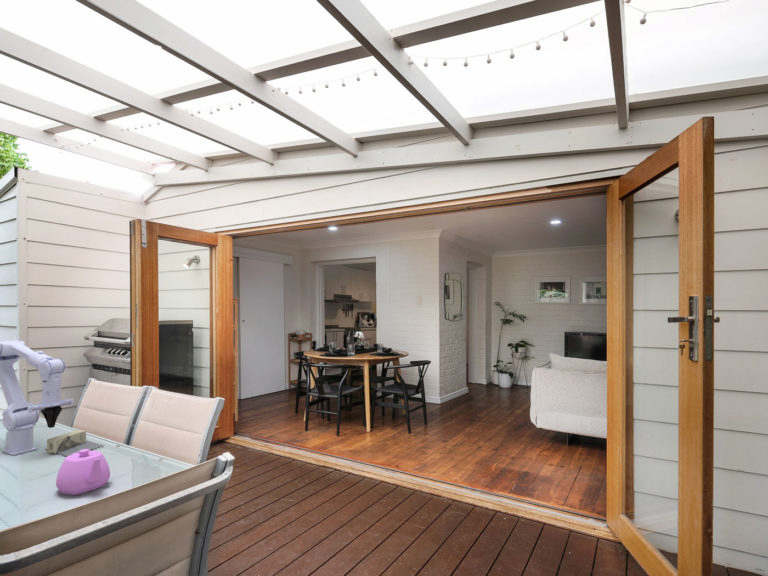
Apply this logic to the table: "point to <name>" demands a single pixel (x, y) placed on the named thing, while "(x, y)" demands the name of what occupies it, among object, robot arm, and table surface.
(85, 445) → the mat
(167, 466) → the table surface
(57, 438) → the box
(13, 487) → the table surface
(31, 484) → the table surface
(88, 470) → the teapot
